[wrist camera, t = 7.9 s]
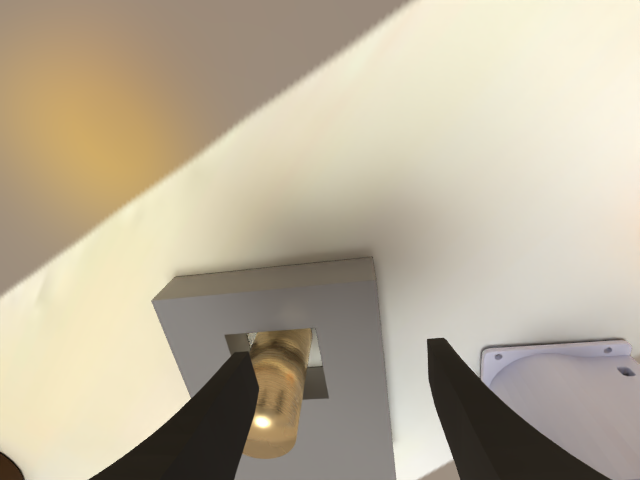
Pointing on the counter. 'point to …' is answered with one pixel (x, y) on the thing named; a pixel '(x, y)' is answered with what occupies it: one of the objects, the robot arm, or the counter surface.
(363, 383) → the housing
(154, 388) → the counter surface
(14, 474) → the olive oil
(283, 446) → the pin
